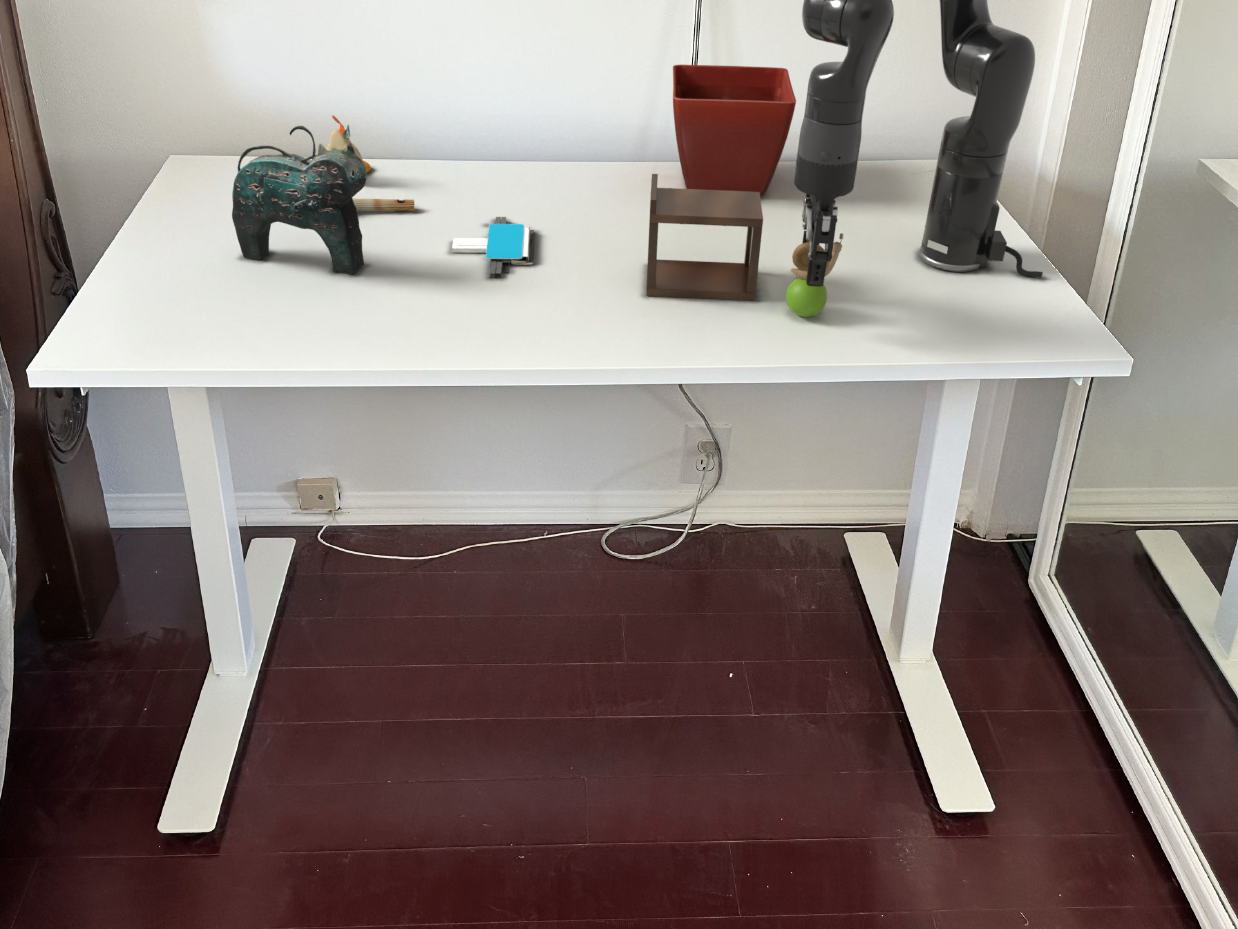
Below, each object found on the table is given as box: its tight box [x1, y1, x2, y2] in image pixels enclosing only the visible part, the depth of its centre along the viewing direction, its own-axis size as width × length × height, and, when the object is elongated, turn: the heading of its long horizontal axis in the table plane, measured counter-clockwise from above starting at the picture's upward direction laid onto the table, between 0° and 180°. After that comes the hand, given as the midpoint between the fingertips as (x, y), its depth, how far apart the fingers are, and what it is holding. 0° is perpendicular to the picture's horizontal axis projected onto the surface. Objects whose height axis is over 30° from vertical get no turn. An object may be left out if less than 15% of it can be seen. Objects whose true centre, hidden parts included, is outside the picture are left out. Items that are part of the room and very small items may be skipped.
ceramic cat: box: [231, 125, 368, 275], centre depth 161 cm, size 20×6×20 cm, turn 74°
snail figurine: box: [785, 233, 844, 318], centre depth 155 cm, size 5×6×12 cm
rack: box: [645, 173, 764, 302], centre depth 161 cm, size 15×10×14 cm, turn 87°
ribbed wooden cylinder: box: [352, 197, 415, 212], centre depth 182 cm, size 4×3×20 cm
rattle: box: [325, 115, 372, 174], centre depth 191 cm, size 8×8×12 cm
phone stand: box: [451, 216, 535, 278], centre depth 173 cm, size 20×12×2 cm, turn 3°
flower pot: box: [672, 64, 797, 197], centre depth 192 cm, size 19×19×17 cm
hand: (811, 271), depth 154 cm, fingers open, 8 cm apart
